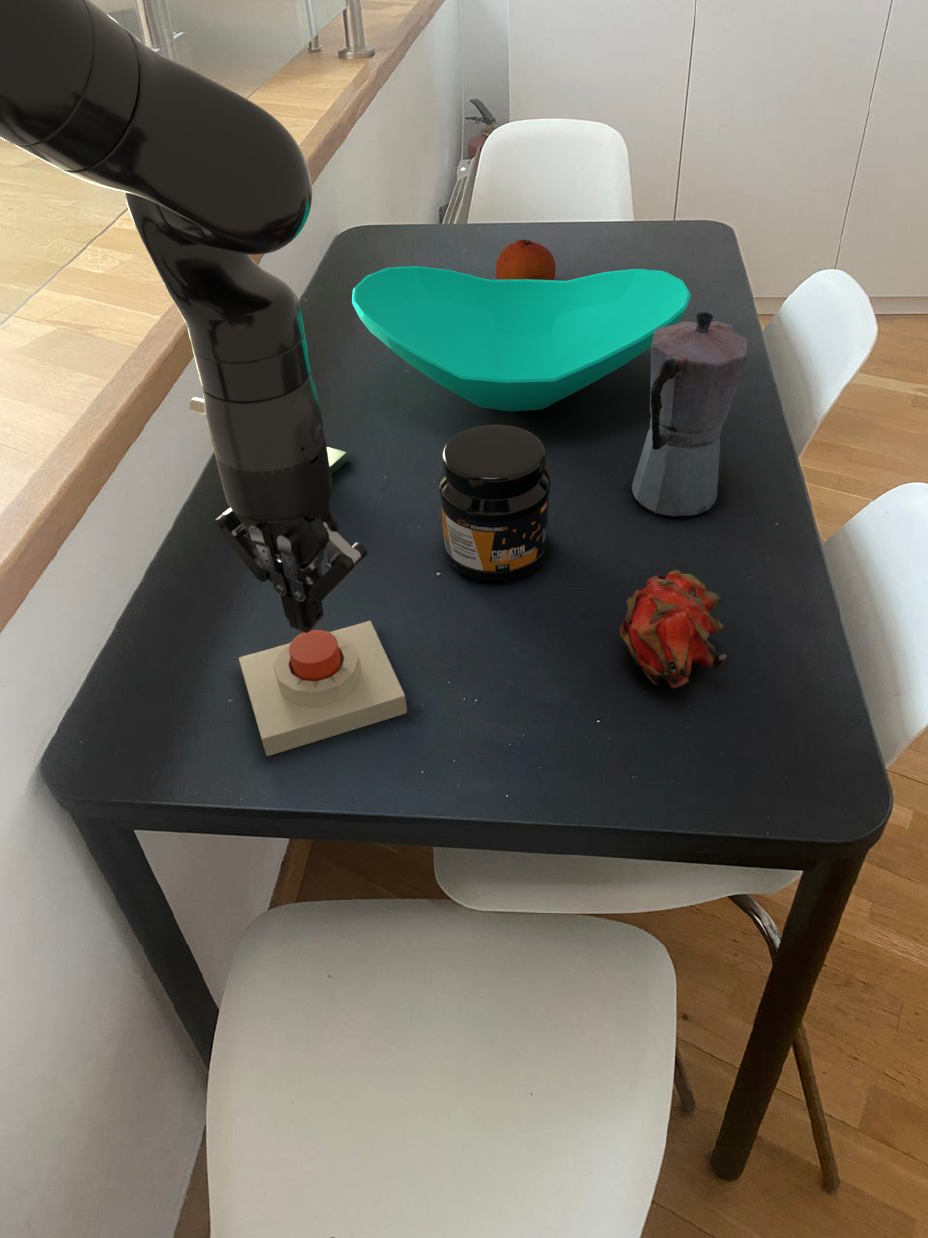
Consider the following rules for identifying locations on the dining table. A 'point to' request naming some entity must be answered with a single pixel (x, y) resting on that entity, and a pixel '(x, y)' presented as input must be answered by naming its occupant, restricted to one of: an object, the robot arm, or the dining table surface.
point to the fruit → (525, 262)
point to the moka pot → (688, 414)
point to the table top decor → (517, 328)
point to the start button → (315, 655)
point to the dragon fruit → (672, 627)
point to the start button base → (322, 692)
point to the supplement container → (494, 502)
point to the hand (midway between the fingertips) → (306, 624)
